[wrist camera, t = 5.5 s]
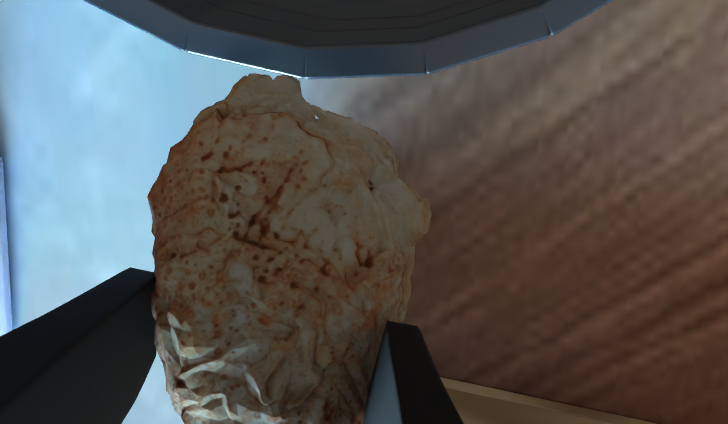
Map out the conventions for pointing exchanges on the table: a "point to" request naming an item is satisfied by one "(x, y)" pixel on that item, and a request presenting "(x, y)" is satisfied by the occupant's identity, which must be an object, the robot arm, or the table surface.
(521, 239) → the table surface
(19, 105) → the table surface
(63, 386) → the robot arm
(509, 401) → the holder
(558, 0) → the bowl
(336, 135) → the oyster shell
